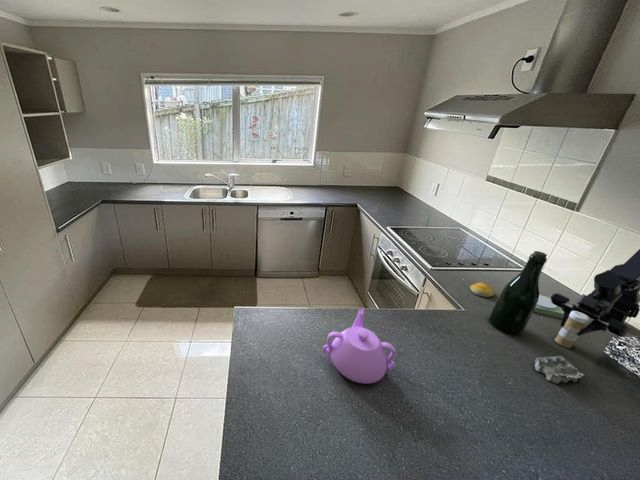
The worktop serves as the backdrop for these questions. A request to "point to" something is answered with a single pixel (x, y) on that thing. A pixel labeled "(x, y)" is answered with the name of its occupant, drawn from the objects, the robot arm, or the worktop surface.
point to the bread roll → (482, 289)
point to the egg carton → (557, 369)
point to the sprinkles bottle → (572, 328)
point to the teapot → (359, 353)
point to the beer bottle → (519, 297)
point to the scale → (548, 307)
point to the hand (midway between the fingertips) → (569, 330)
